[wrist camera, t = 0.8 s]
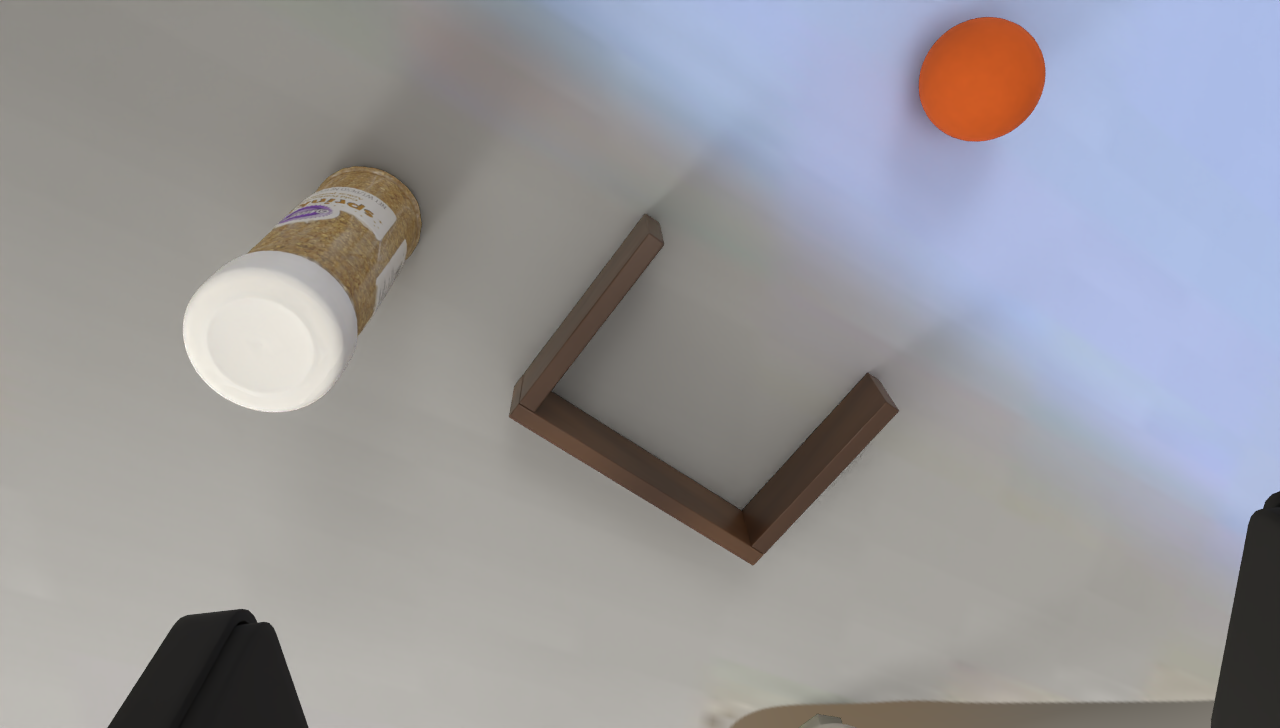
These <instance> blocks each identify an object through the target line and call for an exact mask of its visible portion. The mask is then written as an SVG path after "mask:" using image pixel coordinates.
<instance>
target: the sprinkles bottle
mask: <svg viewBox="0 0 1280 728" xmlns="http://www.w3.org/2000/svg"><path fill="white" fill-rule="evenodd" d="M421 226H422V222H421V217H420V210H419V205H418V203H417V201H416V199H415V198H414V196H413V194H412V193H411V192H410V190H409V189H408V188H407V187H406V186H405V185H403V184H402V183H401V181H399V180H398V179H397V178H395V177H394V176H392V175H390V174H389V173H387V172H385V171H383V170H379V169H375V168H367V167H357V166H354V167H349V168H344V169H341V170H339V171H338V172H336V173H334V174H332V175H331V176H330V177H328V178H327V179H326V180H325V181H324V182H323V183H322V184H321V185H320V187H319V188H318V189H317V191H316V193H314V194H312V195H310V196H309V197H307V198H306V199H305V200H304V201H302V202H301V203H300V204H299V205H298V206H297V207H296V208H295V209H293V210H292V211H291V212H290V213H289V214H288V215H287V216H286V217H284V218H283V219H282V220H281V221H280V222H279V223H278V224H276V226H275V227H274V228H273V230H272V231H271V232H270V233H269V234H268V235H267V236H266V237H265V238H263V239H262V240H261V241H260V242H259V243H258V244H257V245H256V246H255V247H254V248H252V249H251V251H249V253H248V254H245V255H242V256H239V257H237V258H235V259H233V260H232V261H230V262H228V263H227V264H225V265H224V266H223V267H221V268H220V269H219V270H218V271H217V272H215V273H214V274H213V275H212V276H211V277H210V278H209V279H208V280H207V281H206V282H205V283H204V284H202V285H201V287H200V288H199V289H198V290H197V291H196V292H195V294H194V295H193V297H192V298H191V300H190V302H189V304H188V306H187V309H186V312H185V316H184V322H183V338H184V344H185V348H186V351H187V354H188V356H189V359H190V361H191V363H192V365H193V366H194V368H195V370H196V371H197V373H198V374H199V375H200V376H201V378H202V379H203V380H204V381H205V382H206V383H207V384H208V385H209V386H210V387H211V388H212V389H213V390H215V391H216V392H217V393H218V394H220V395H221V396H223V397H224V398H226V399H228V400H229V401H231V402H234V403H236V404H238V405H240V406H243V407H246V408H249V409H253V410H258V411H264V412H285V411H292V410H296V409H299V408H303V407H305V406H307V405H310V404H312V403H313V402H315V401H317V400H318V399H320V398H321V397H322V396H324V395H325V394H326V393H327V392H328V391H329V390H330V389H331V388H332V386H333V385H334V384H335V383H336V381H337V380H338V378H339V377H340V375H341V374H342V373H343V371H344V369H345V368H346V366H347V365H348V363H349V361H350V360H351V358H352V356H353V353H354V351H355V347H356V342H357V337H358V335H359V334H360V333H361V331H362V330H363V328H364V327H365V326H366V325H367V324H368V323H369V321H370V320H371V318H372V317H373V315H374V313H375V312H376V310H377V309H378V307H379V305H380V304H381V302H382V301H383V299H384V297H385V296H386V294H387V293H388V291H389V289H390V287H391V285H392V284H393V282H394V280H395V279H396V277H397V276H398V274H399V272H400V270H401V268H402V266H403V264H404V261H405V260H406V259H407V258H408V257H409V256H410V255H411V254H412V252H413V250H414V249H415V247H416V246H417V243H418V241H419V238H420V232H421Z"/></svg>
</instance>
